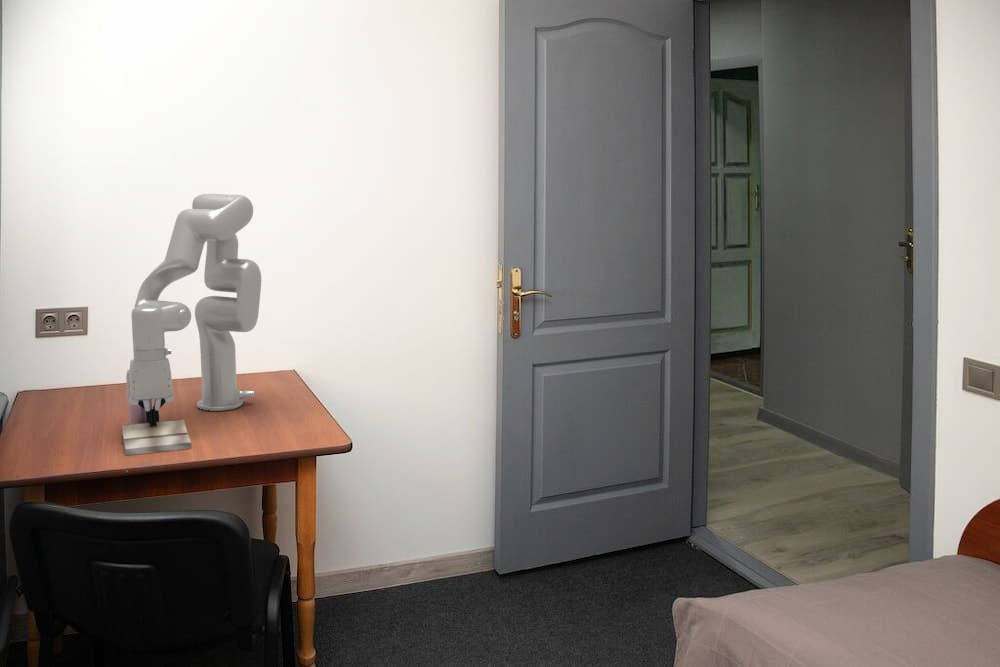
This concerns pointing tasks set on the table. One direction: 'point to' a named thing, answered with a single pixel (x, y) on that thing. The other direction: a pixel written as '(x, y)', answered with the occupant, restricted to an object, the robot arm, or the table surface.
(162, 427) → the plank
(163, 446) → the floorboard
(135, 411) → the beverage can
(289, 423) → the table surface
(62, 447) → the table surface
